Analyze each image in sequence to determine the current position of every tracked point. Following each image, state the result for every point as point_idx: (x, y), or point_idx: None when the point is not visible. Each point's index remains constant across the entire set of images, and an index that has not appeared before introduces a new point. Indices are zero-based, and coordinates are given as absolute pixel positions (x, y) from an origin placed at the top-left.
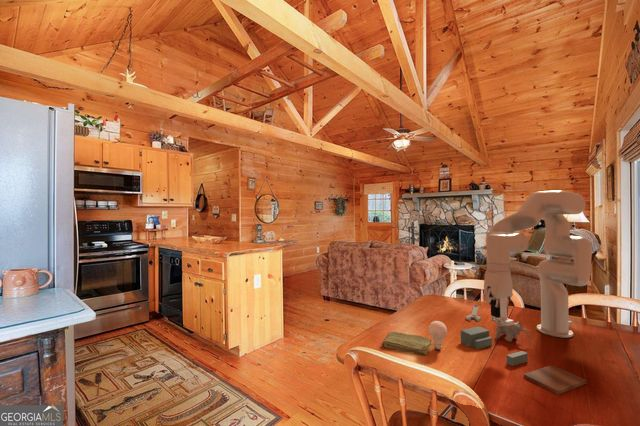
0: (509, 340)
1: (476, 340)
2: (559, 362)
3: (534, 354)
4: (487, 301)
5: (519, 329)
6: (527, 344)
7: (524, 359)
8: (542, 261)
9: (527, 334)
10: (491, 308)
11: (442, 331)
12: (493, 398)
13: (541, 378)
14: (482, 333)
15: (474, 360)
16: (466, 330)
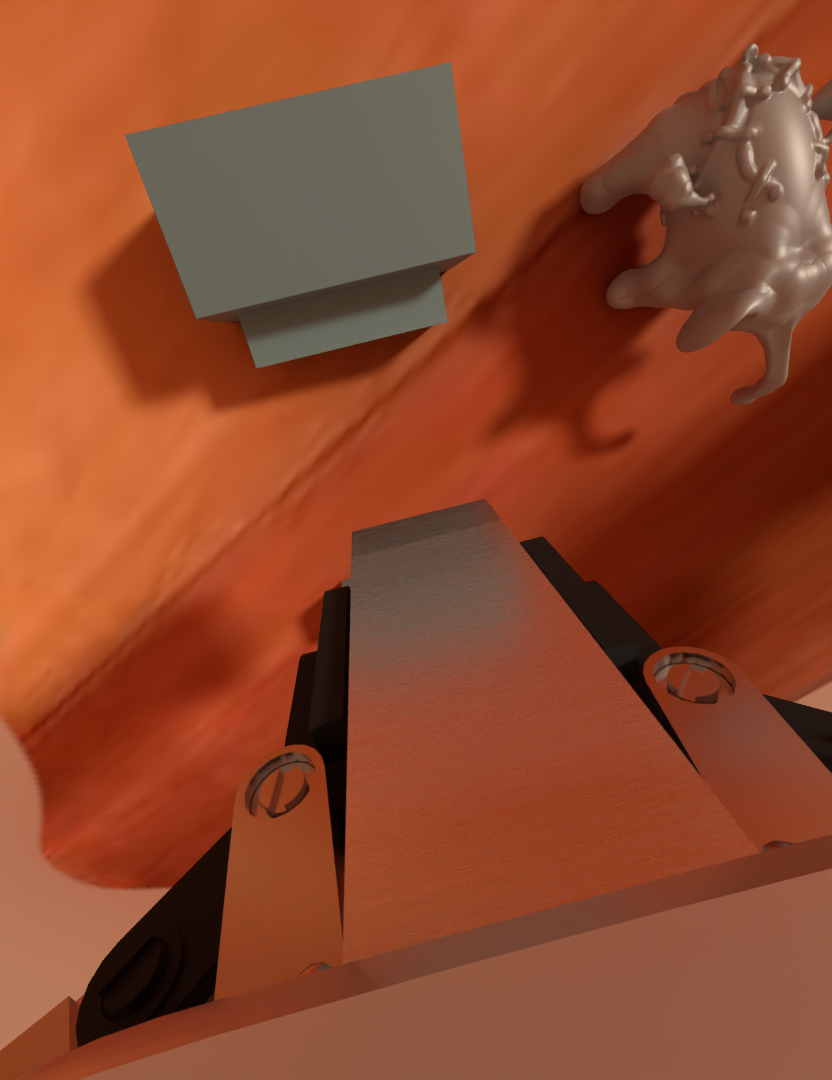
0: (618, 308)
1: (260, 346)
2: (631, 599)
3: (598, 506)
4: (50, 1020)
5: (758, 337)
6: (700, 367)
7: None
8: None
9: (748, 396)
10: (288, 728)
11: None
12: (77, 809)
13: None
14: (372, 277)
15: (149, 521)
16: (202, 170)
